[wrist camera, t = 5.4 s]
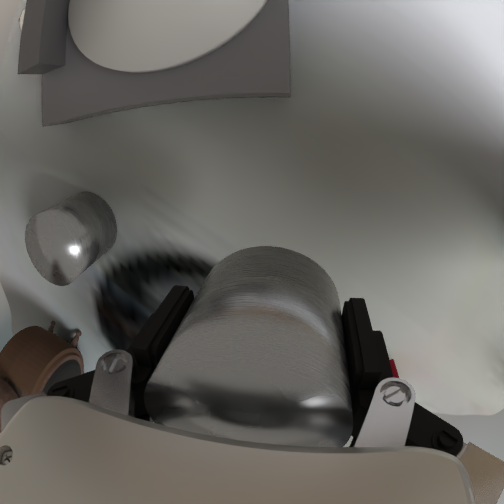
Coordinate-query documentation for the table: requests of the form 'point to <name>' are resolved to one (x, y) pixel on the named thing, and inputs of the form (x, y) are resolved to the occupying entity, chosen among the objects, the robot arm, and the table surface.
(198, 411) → the cylinder
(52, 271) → the cylinder
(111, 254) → the table surface
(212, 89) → the scale
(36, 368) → the alarm clock
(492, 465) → the robot arm
